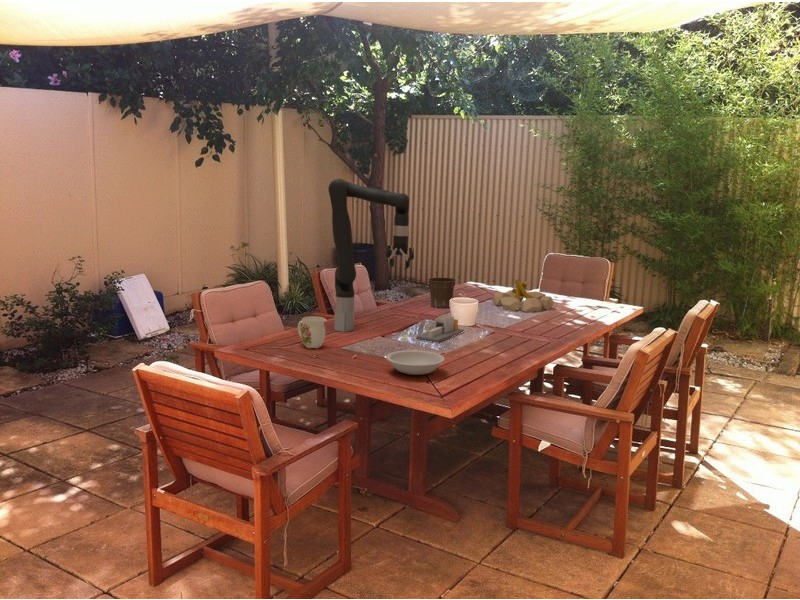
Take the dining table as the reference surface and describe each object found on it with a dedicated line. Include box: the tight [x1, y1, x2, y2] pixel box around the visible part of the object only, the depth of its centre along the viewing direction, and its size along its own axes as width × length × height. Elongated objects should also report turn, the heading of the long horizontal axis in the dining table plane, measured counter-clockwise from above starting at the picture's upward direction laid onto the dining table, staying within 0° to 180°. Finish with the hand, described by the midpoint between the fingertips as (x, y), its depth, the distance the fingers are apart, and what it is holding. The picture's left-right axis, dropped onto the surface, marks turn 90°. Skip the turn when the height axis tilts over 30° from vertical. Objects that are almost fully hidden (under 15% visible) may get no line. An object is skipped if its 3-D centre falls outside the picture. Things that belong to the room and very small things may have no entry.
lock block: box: [434, 315, 455, 334], centre depth 390 cm, size 10×6×7 cm, turn 150°
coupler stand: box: [415, 318, 465, 343], centre depth 387 cm, size 28×12×6 cm, turn 150°
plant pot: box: [427, 277, 456, 309], centre depth 461 cm, size 16×16×16 cm
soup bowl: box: [385, 349, 446, 376], centre depth 321 cm, size 24×24×7 cm
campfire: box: [491, 278, 555, 313], centre depth 467 cm, size 35×34×17 cm
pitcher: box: [297, 315, 327, 349], centre depth 358 cm, size 11×18×14 cm, turn 50°
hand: (399, 267), depth 387 cm, fingers open, 8 cm apart
